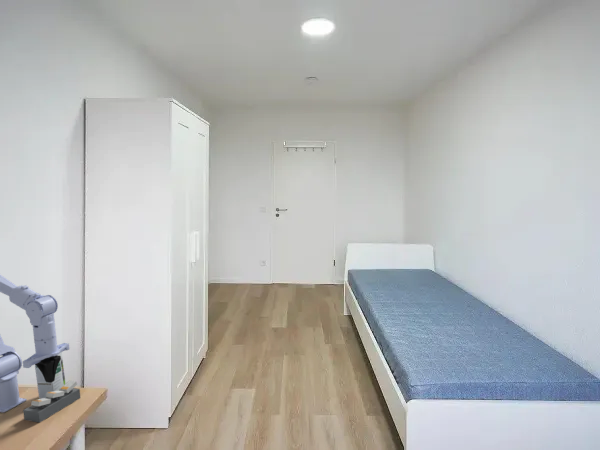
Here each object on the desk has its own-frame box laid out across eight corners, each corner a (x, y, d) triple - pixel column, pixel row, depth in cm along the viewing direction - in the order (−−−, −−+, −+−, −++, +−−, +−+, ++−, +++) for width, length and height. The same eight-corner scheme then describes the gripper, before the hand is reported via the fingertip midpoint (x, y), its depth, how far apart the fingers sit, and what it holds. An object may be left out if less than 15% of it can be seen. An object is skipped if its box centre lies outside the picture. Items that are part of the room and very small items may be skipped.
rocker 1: (31, 405, 130) (31, 400, 130) (43, 402, 134) (43, 397, 134) (38, 406, 129) (39, 401, 129) (50, 403, 133) (50, 398, 133)
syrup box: (54, 399, 143) (49, 355, 141) (38, 398, 144) (33, 355, 143) (66, 391, 148) (62, 348, 147) (51, 390, 150) (46, 348, 148)
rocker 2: (45, 397, 135) (46, 392, 135) (56, 394, 138) (57, 389, 139) (53, 398, 134) (53, 393, 134) (64, 395, 138) (64, 390, 138)
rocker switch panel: (24, 419, 131) (22, 407, 131) (65, 395, 145) (64, 384, 145) (39, 422, 129) (38, 410, 129) (80, 397, 143) (79, 386, 143)
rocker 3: (60, 392, 140) (59, 388, 139) (70, 383, 143) (69, 380, 143) (67, 393, 139) (66, 389, 138) (77, 384, 142) (76, 381, 142)
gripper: (34, 347, 125) (39, 394, 126) (75, 330, 139) (79, 372, 140) (15, 345, 127) (20, 391, 129) (57, 328, 141) (62, 370, 142)
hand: (50, 381), depth 135 cm, fingers closed
